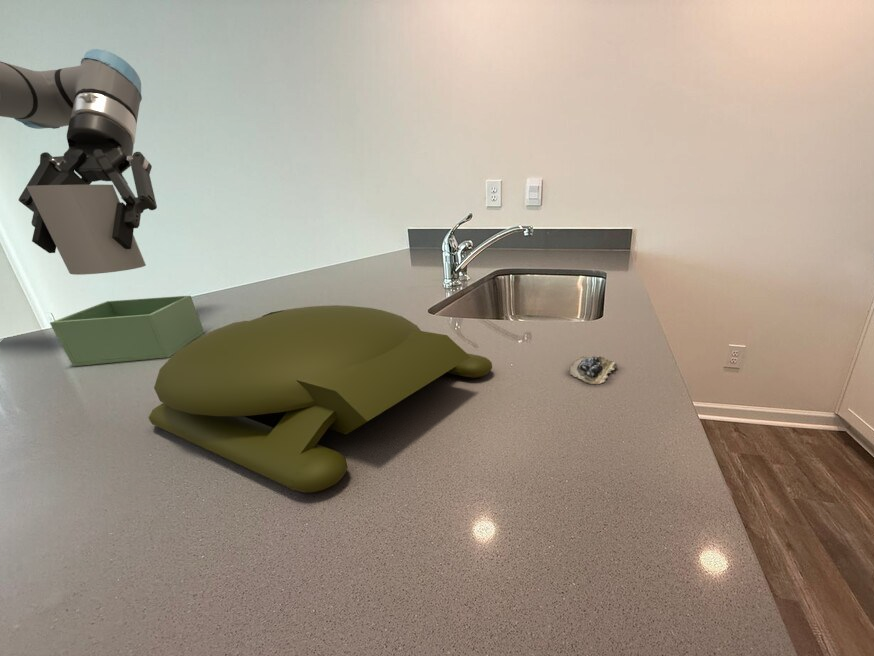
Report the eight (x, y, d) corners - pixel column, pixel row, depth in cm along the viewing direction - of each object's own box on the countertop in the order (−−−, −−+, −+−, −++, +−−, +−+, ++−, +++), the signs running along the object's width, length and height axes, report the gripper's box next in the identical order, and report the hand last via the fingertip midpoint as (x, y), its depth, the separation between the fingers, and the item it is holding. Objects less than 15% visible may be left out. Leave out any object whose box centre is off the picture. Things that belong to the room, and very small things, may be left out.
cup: (144, 268, 64) (109, 184, 59) (64, 277, 59) (18, 185, 54) (146, 262, 71) (115, 185, 65) (75, 269, 66) (35, 186, 60)
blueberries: (616, 362, 60) (617, 350, 59) (621, 385, 53) (622, 372, 52) (570, 360, 61) (570, 348, 60) (569, 383, 54) (569, 370, 53)
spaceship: (499, 371, 58) (496, 303, 54) (315, 508, 34) (283, 405, 29) (331, 337, 73) (318, 282, 69) (120, 415, 49) (80, 338, 45)
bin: (72, 366, 63) (49, 322, 60) (124, 339, 75) (106, 301, 72) (169, 357, 66) (151, 315, 63) (204, 332, 78) (190, 295, 74)
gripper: (-1, 110, 62) (-36, 231, 55) (163, 111, 66) (150, 224, 59) (45, 153, 69) (19, 265, 62) (190, 151, 73) (181, 256, 66)
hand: (83, 245), depth 60 cm, fingers closed on cup, 9 cm apart
